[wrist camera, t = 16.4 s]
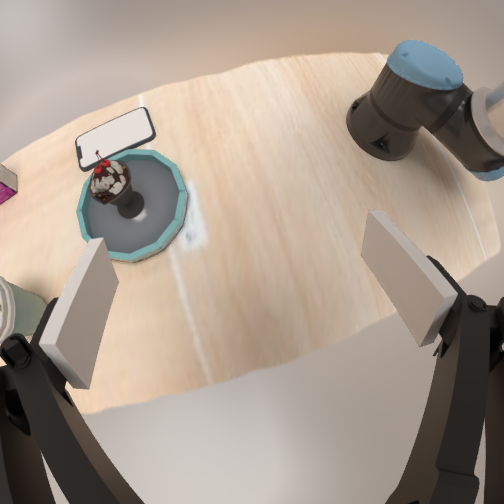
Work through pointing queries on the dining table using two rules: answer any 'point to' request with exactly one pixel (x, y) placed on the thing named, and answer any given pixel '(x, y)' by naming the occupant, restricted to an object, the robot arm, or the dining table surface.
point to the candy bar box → (7, 184)
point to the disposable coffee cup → (18, 310)
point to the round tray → (152, 216)
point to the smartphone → (114, 138)
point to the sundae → (115, 187)
